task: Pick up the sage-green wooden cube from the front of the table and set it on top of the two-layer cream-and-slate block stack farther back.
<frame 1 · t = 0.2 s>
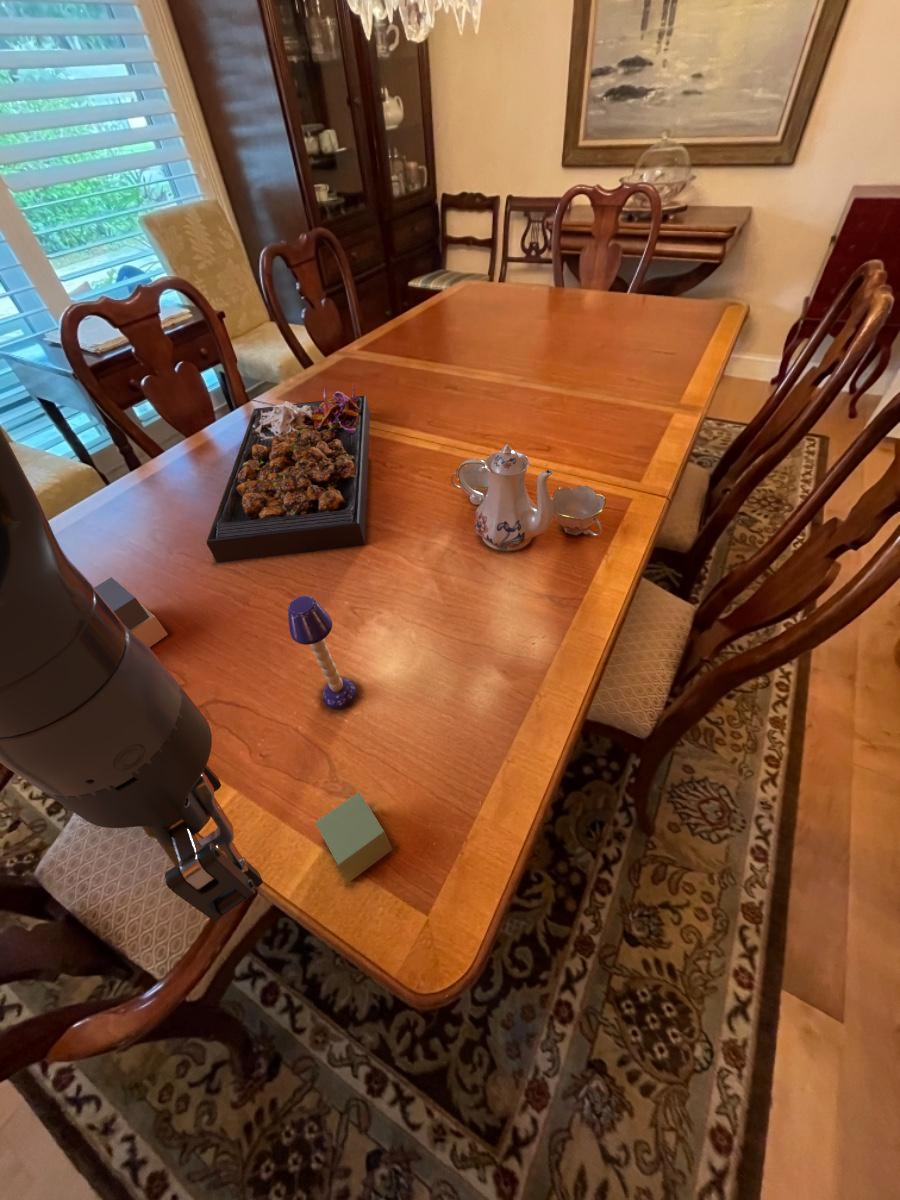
hand: (226, 837, 39), 18 cm above the table, tool pointing down, fingers open, 8 cm apart
toy lamp: (339, 694, 68), on the table
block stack: (129, 639, 78), on the table
chinaware: (516, 525, 89), on the table
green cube: (359, 844, 55), on the table
food platter: (305, 478, 104), on the table
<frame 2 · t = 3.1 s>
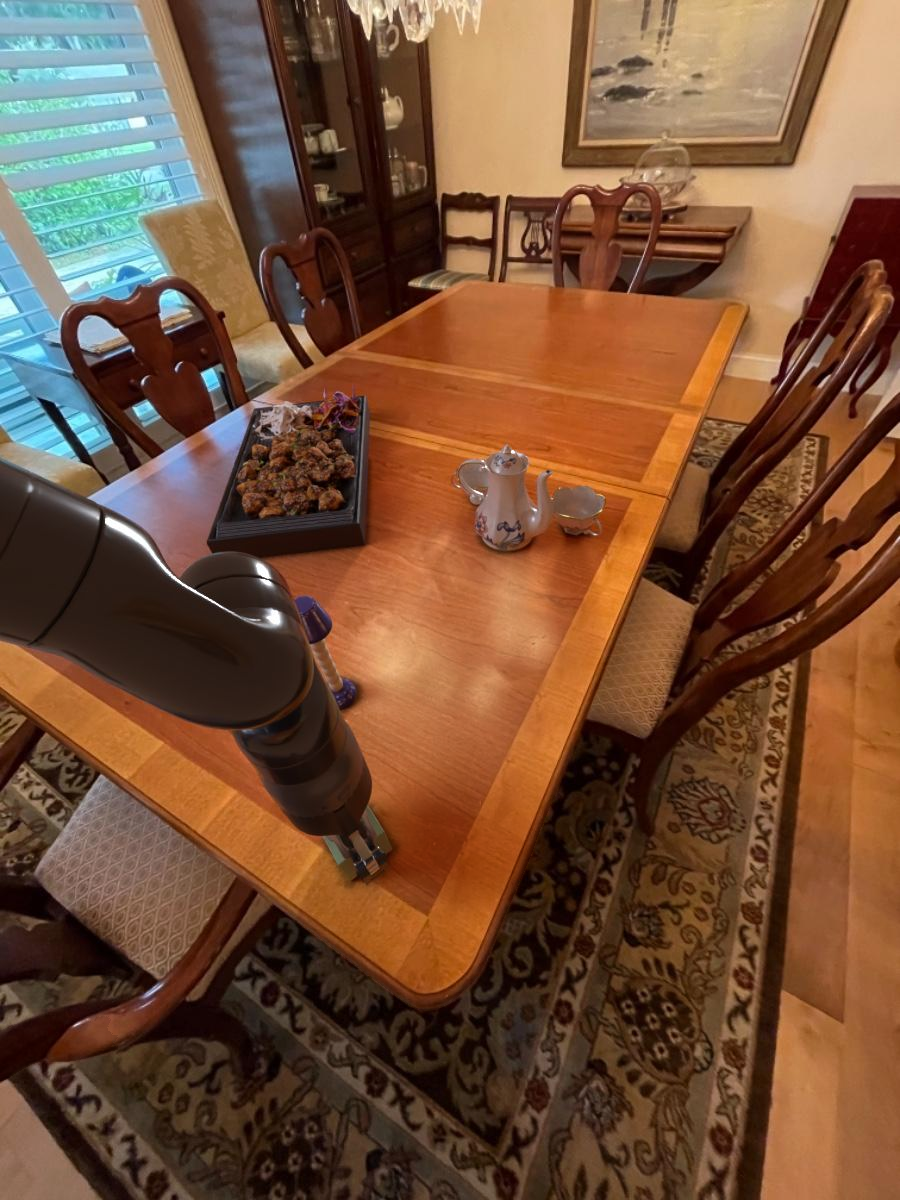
hand: (359, 843, 55), 0 cm above the table, tool pointing down, fingers closed on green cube, 5 cm apart
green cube: (359, 844, 55), on the table, touching gripper
everything else where it was.
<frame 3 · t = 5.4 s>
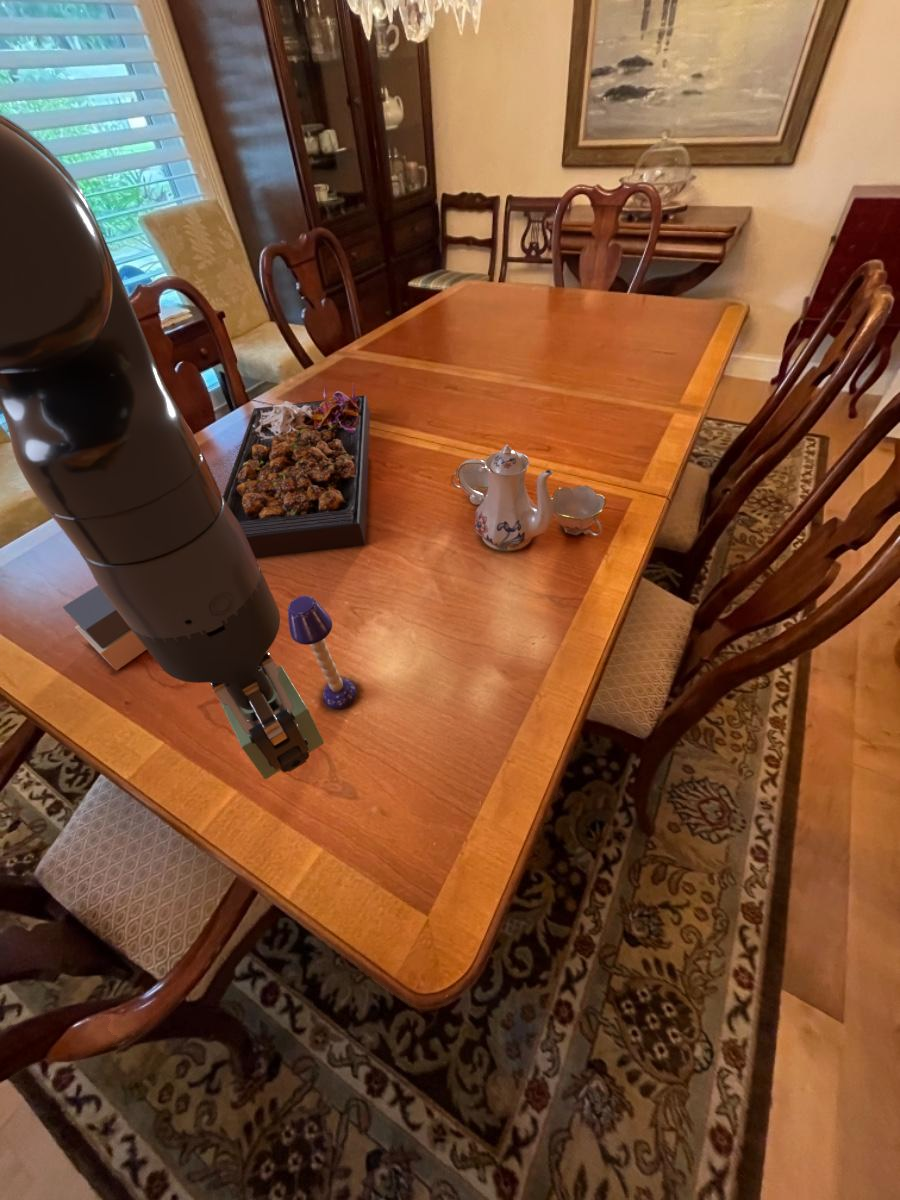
hand: (281, 735, 42), 20 cm above the table, tool pointing down, fingers closed on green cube, 5 cm apart
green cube: (283, 738, 42), point 19 cm above the table, touching gripper
everything else where it was.
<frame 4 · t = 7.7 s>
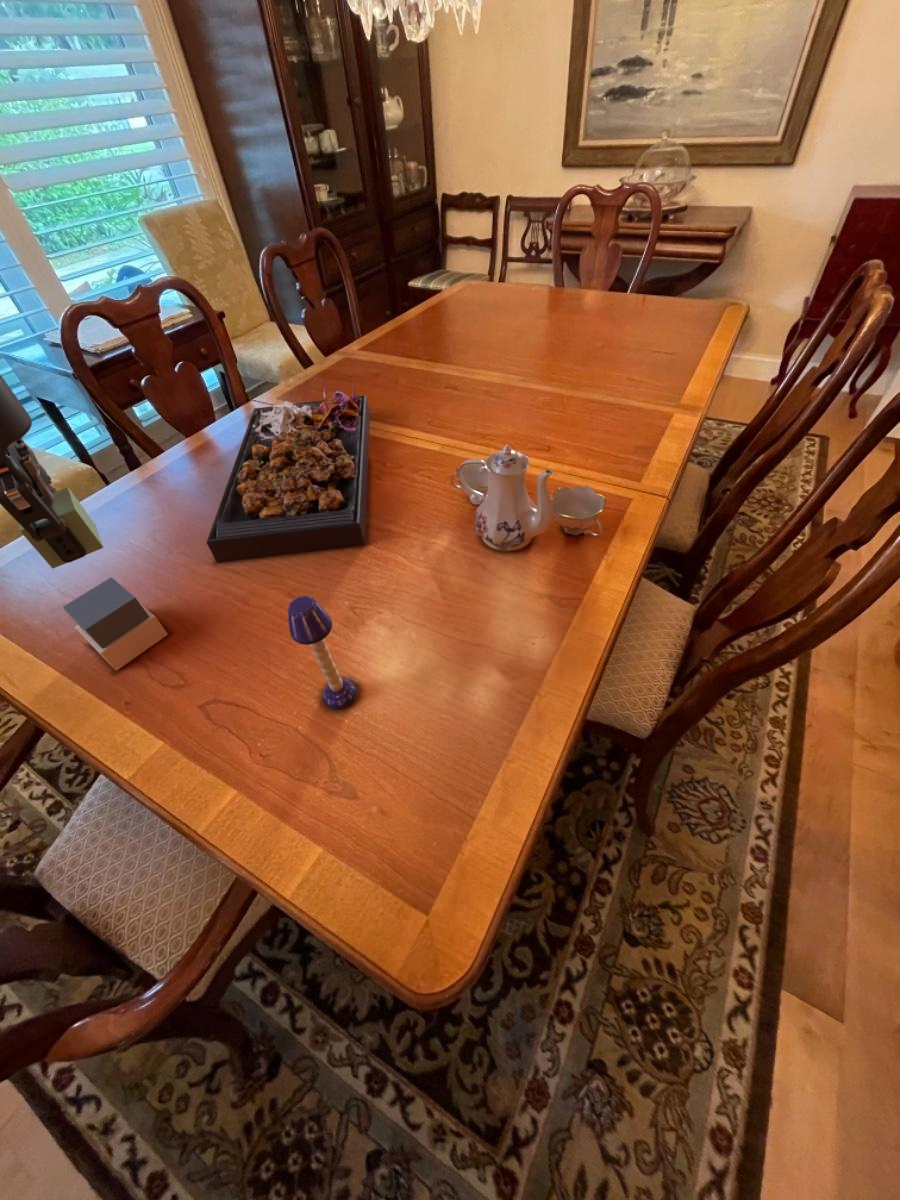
hand: (71, 543, 56), 23 cm above the table, tool pointing down, fingers closed on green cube, 5 cm apart
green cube: (75, 546, 56), point 23 cm above the table, touching gripper
everything else where it was.
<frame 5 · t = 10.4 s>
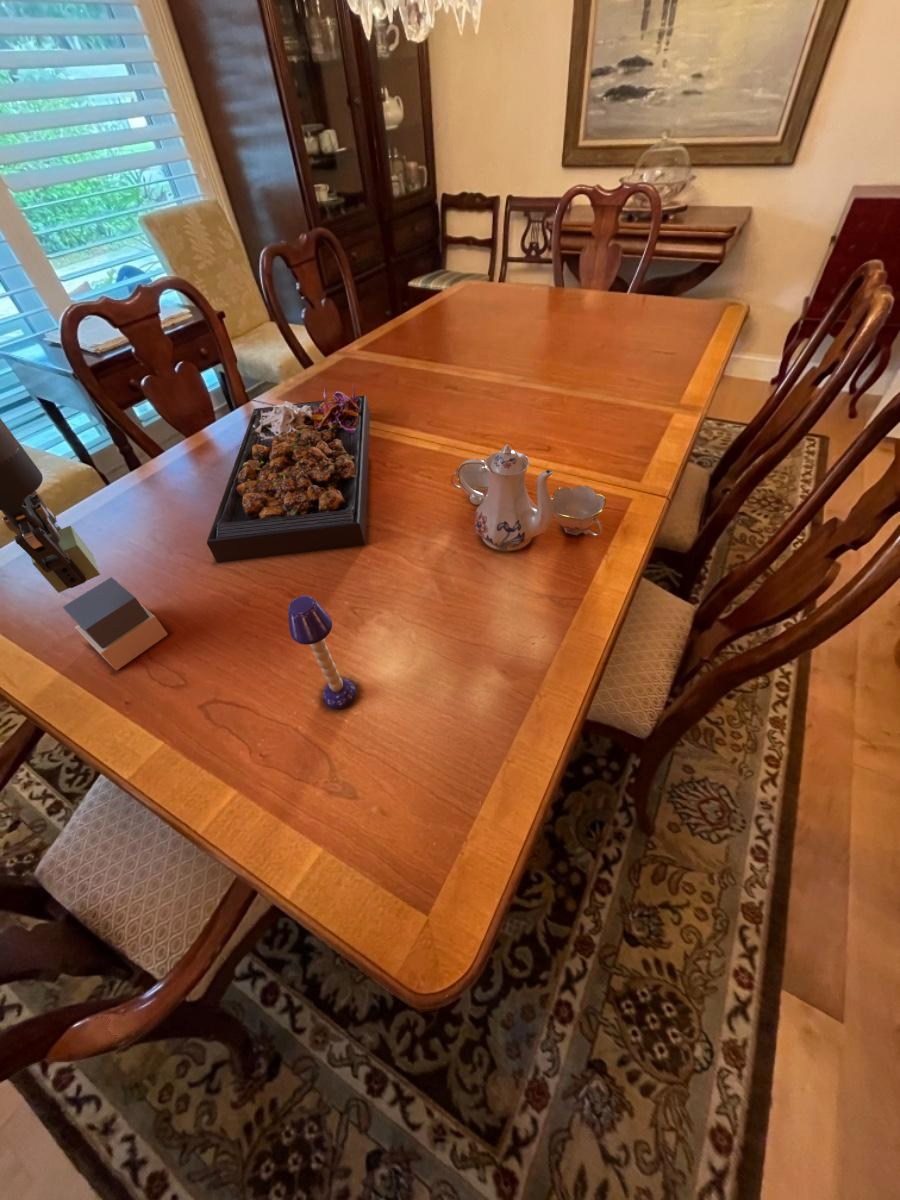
hand: (73, 571, 68), 14 cm above the table, tool pointing down, fingers closed on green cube, 5 cm apart
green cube: (76, 573, 68), point 13 cm above the table, touching gripper
everything else where it was.
when the fingers open (8 cm above the table, at t = 12.3 s): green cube stays where it is, resting on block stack.
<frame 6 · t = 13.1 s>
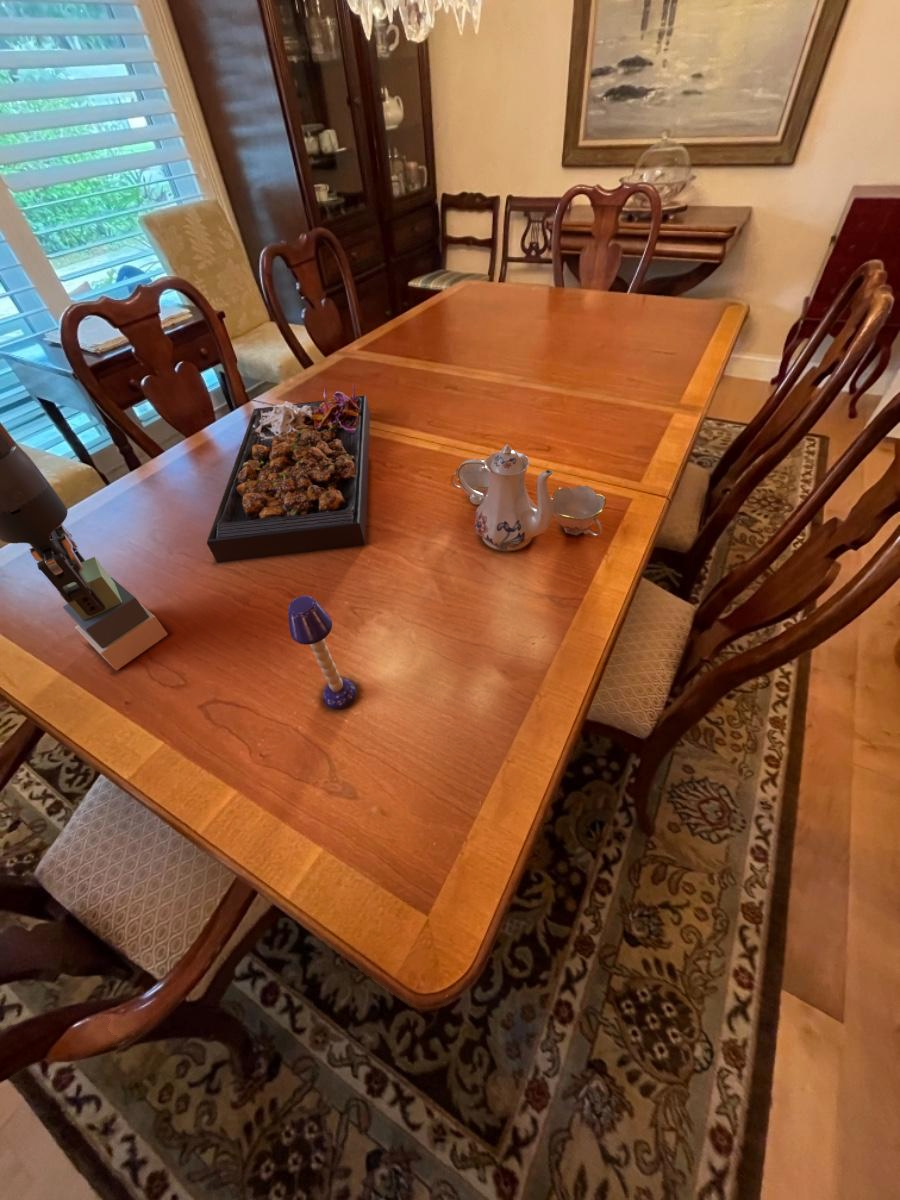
hand: (91, 593, 71), 10 cm above the table, tool pointing down, fingers open, 8 cm apart
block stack: (129, 639, 78), on the table, touching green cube
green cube: (99, 601, 72), point 8 cm above the table, touching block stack
everything else where it was.
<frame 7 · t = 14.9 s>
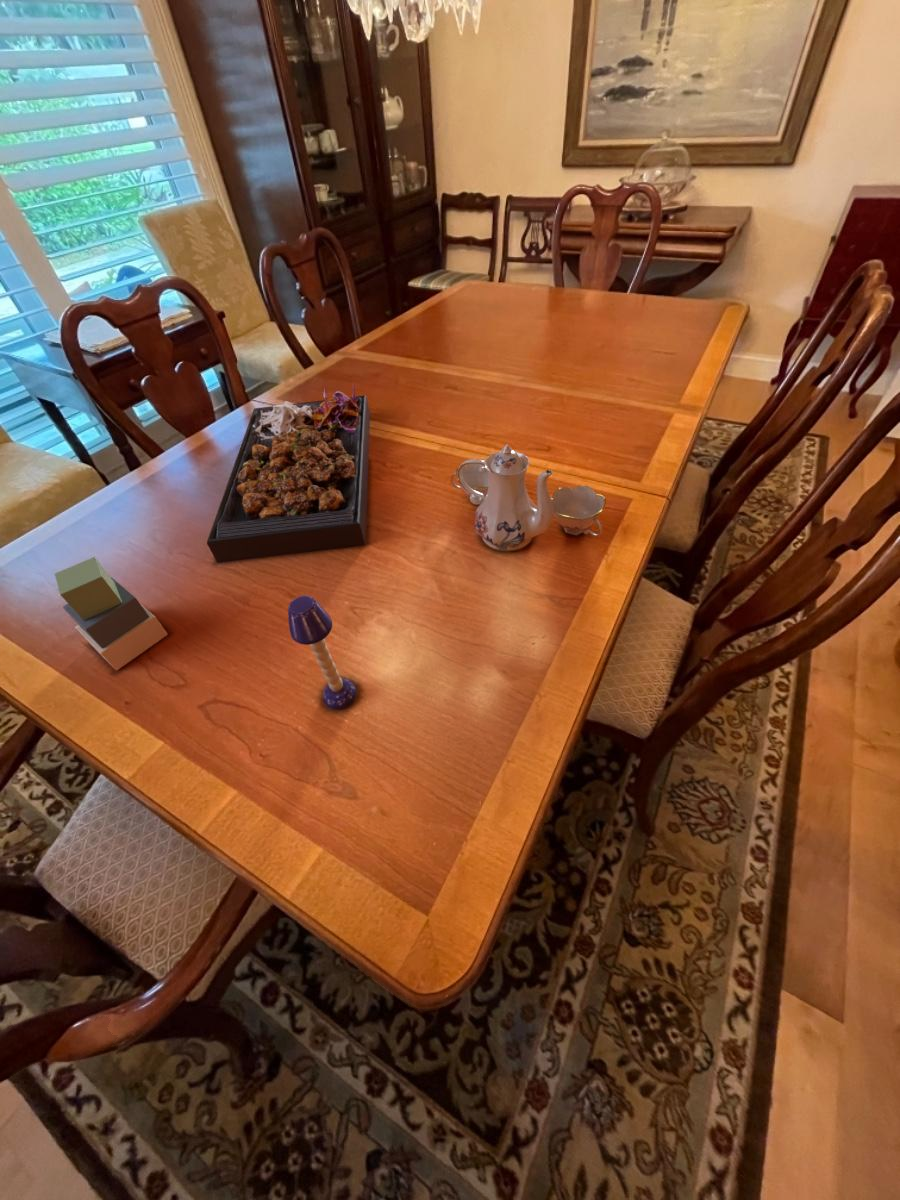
nothing on the table moved.
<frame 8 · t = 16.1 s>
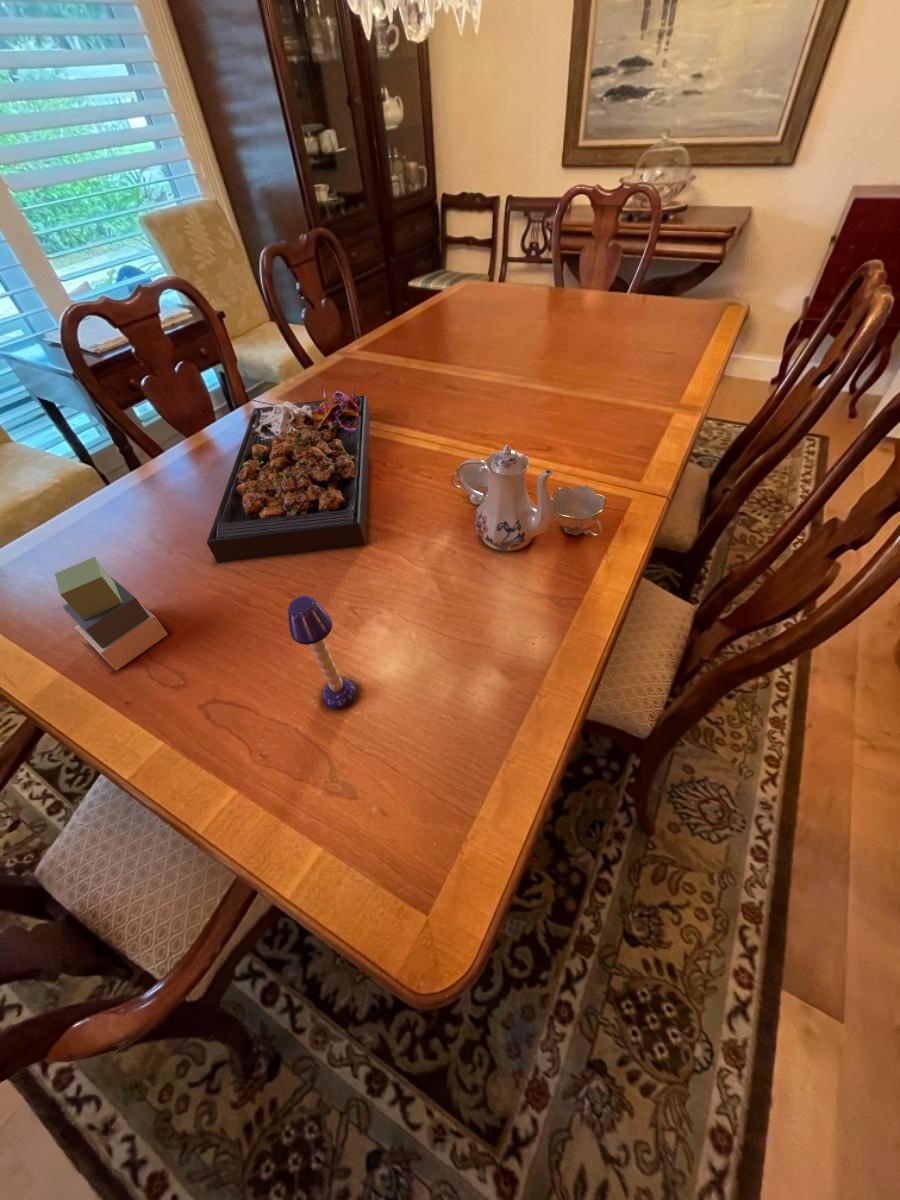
nothing on the table moved.
at the end: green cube 0.1 cm off-centre on the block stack, point 8.0 cm above the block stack's base; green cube tilted 0°; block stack moved 0.0 cm from its start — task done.
